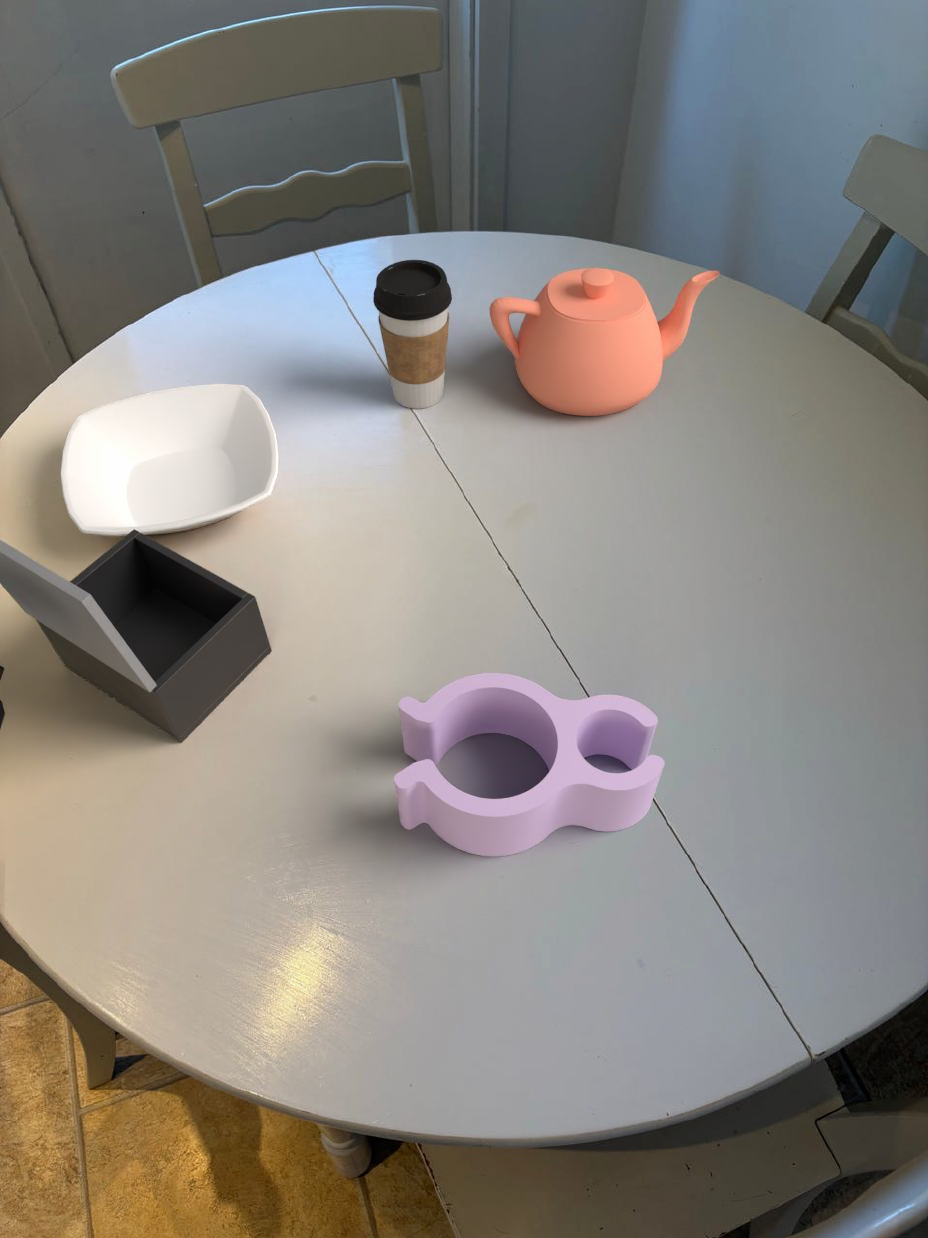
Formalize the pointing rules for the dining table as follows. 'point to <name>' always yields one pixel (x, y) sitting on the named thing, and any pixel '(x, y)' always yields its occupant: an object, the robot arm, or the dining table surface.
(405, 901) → the dining table surface
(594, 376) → the teapot
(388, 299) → the coffee cup
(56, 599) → the box lid
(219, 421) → the bowl
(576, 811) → the clip
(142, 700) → the grey hinged lid box
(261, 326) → the dining table surface
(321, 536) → the dining table surface
